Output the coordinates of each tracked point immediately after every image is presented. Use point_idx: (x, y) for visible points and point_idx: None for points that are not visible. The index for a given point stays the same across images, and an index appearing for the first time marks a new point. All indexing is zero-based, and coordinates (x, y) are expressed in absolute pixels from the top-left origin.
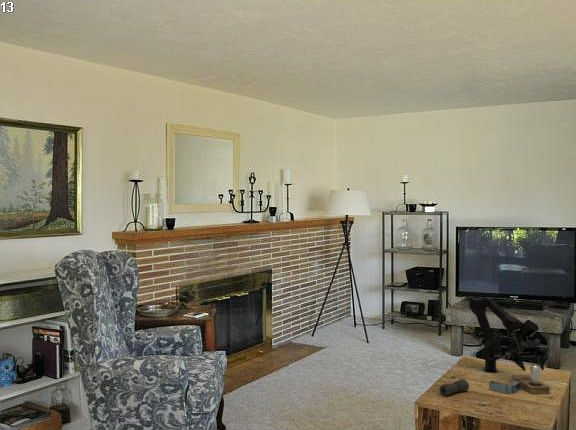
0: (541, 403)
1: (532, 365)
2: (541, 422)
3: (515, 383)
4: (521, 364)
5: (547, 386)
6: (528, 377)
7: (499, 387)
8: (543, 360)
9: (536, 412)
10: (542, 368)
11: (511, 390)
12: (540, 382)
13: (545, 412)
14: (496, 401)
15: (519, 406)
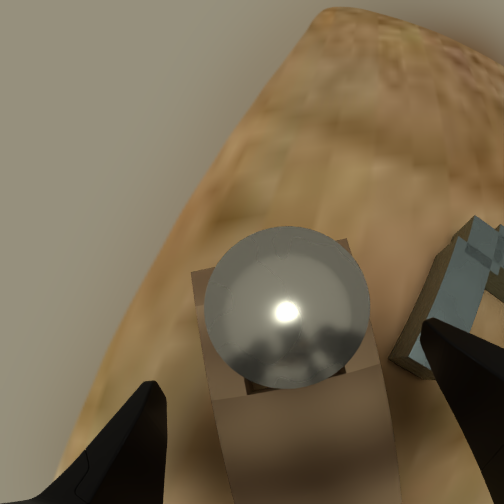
0: (309, 121)
1: (341, 309)
2: (340, 14)
3: (451, 294)
4: (496, 347)
5: (197, 290)
6: None
7: None
8: (64, 476)
9: (347, 52)
10: (153, 395)
11: (462, 229)
12: (220, 395)
13: (314, 53)
14: (492, 136)
15: (409, 90)
